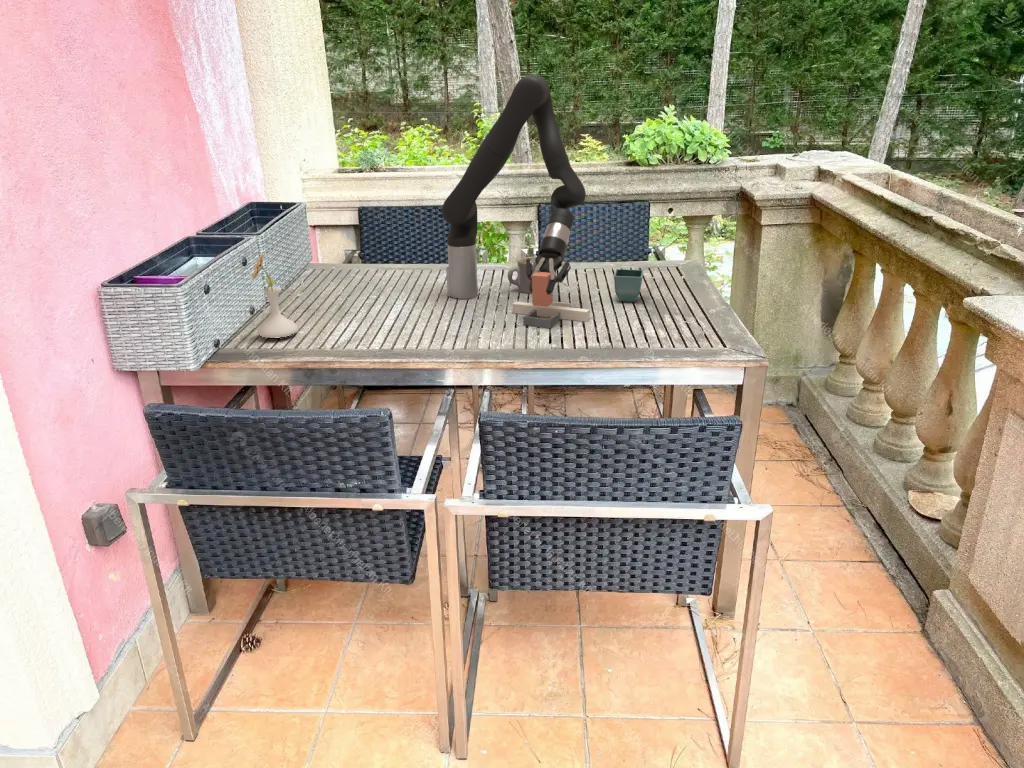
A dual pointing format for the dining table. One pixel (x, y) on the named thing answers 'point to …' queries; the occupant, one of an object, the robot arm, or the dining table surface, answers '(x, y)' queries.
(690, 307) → the dining table surface
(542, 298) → the block
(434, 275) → the dining table surface
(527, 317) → the keeper bracket
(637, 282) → the flower pot
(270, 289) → the flower in vase
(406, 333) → the dining table surface
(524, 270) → the coffee mug
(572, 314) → the strip
